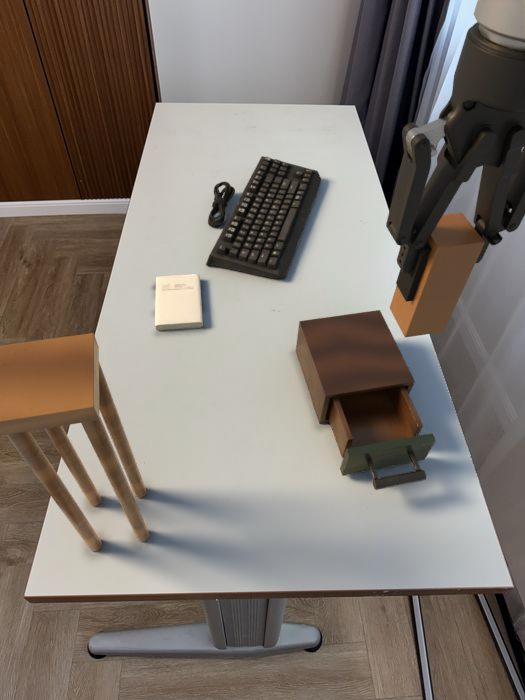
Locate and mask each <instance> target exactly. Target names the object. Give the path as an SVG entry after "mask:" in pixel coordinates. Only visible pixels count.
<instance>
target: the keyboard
mask: <svg viewBox="0 0 525 700" xmlns="http://www.w3.org/2000/svg"><path fill="white" fill-rule="evenodd" d="M321 183H322V178H321V176H320V173H319V171H318V170H316V169H312V168H308V167H305V166H300V165H297V164H293V163H289V162H286V161H281V160H280V159H277V158H272V157H269V156H263V155H262V156H260V158H259V160H258V162H257V165H256V167H255V168H254V170H253V171H252V173H251V176H250V177H249V180H248V182H247V184H246V185H245V187H244V189H243V191H242V193H241V195H240V197H239V199H238V202H237V204H236V205H235V206H234V208H233V210H232V212H231V214H230V216H229V217H228V219H227V221H226V223H225V225H224V227H223V228H222V231H221V232H220V235H219V236H218V237H217V240H216V241H215V244H214V246H213V248H212V250H211V252H210V253H209V256H208V257H207V260H206V263H205V266H207V267H209V266H214V267H219V268H224V269H228V270H233V271H238V272H242V273H246V274H252V275H256V276H260V277H265V278H269V279H276V280H277V279H280V278H281V279H282V278H283V279H286V277H287V276H288V274H289V270H290V267H291V264H292V262H293V258H294V256H295V253H296V251H297V248H298V245H299V243H300V239H301V237H302V234H303V231H304V228H305V226H306V223H307V220H308V218H309V215H310V212H311V209H312V207H313V204H314V202H315V200H316V197H317V194H318V191H319V188H320V186H321ZM222 186H224V188H222V189H221V191H220V189H219V188H221V187H222ZM235 193H236V189H235V187H233V186H232V185H231V184H230V182H228V181H221V182H219V183H216V184H215V185H214V187H213V195H214V197H213V202H212V204H211V207H212V208H211V210H210V213H209V214H208V219H207V224H208V225H209V227H211V228H217V227H220V226H221V225H223V223H224V222H225V220H226V212H227V211H226V208H227V207H228V202H229V201H230V200H231V199H232V198H233V196H234V195H235ZM218 213H219V215H217V214H218ZM216 215H217V216H216Z"/></svg>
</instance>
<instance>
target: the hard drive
mask: <svg viewBox="0 0 525 700" xmlns="http://www.w3.org/2000/svg"><path fill="white" fill-rule="evenodd" d="M154 304H155V305H154V306H155V307H154V308H155V309H154V310H155V311H154V312H155V313H154V314H155V315H154V327H155V330H156V331H159V332H160V331H174V330H175V331H176V330H188V329H199V328H203V327H204V319H203V317H204V316H203V306H202V305H203V304H202V287H201V274H199V273H192V274H191V273H190V274H175V275H159V276H156V277H155V303H154Z"/></svg>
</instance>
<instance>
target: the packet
mask: <svg viewBox="0 0 525 700" xmlns="http://www.w3.org/2000/svg"><path fill="white" fill-rule="evenodd" d="M474 227H475V226H473V225H472V223H471V222H470V221H469V220H468V218H467V216H465V214H464V213H463V212H456V213H447V214H443V216H442V217H441V219H440V221H439V222H438V224H437V226H436V227H435V229H434V231H433V232H432V234H431V236H430V237H429V239H428V241H427V243H428V244H429V246H430V247H431V249H432V250H431V252H430V255H429V258H428V261H427V263H426V266H425V269H424V272H423V274H422V277H421V280H420V283H419V285H418V288H417V291H416V294H415V296H414V299H413V301H407V302H406V301H405V299H404V297H403V295H402V293H401V292H400V290H399V288H398V286H397V285H396V286H395V289H394V293H393V295H392V298H391V302H390V305H389V310H390V312H391V313H392V315H393V318H394V320H395V321H396V323H397V325H398V327H399V329H400V332H401V333H402V336H403V337H404V338H412V337H418V336H425V335H432V334H438V333H444V332H445V330H446V328H447V325H448V324H449V321H450V319H451V317H452V315H453V312H455V309H456V306H457V304H458V302H459V300H460V298H461V296H462V293H463V292H464V289H465V287H466V285H467V282H468V280H469V278H470V276H471V274H472V272H473V270H474V267H475V266H476V264H477V263H476V261H477V259H478V256H479V254H480V252H481V250H482V248H483V246H484V243H485V242H484V240H483V239H482V238H481V236H480V235H479V234H478V233H477V231H476V230H475V229H474Z"/></svg>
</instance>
